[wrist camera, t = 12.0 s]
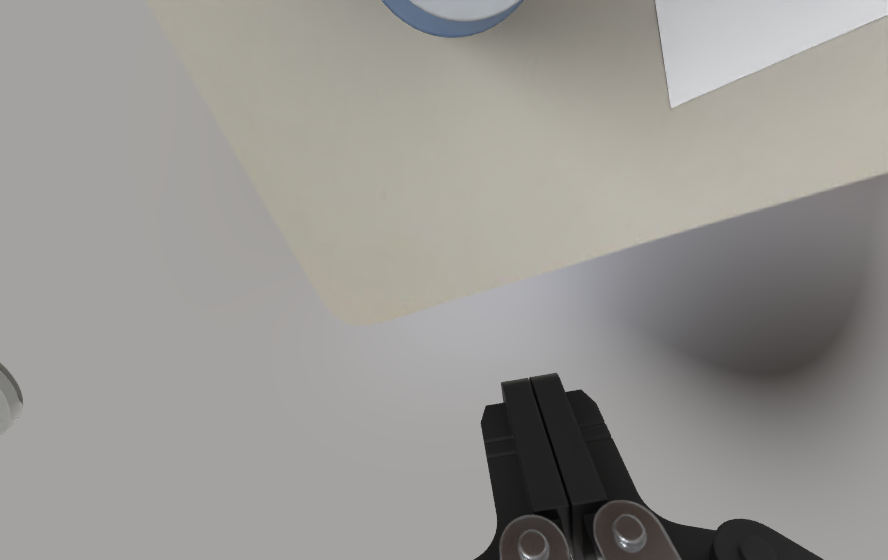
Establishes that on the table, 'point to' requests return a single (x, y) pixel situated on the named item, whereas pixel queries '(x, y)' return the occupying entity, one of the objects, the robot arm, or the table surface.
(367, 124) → the table surface
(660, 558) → the robot arm
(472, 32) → the blue cylinder
